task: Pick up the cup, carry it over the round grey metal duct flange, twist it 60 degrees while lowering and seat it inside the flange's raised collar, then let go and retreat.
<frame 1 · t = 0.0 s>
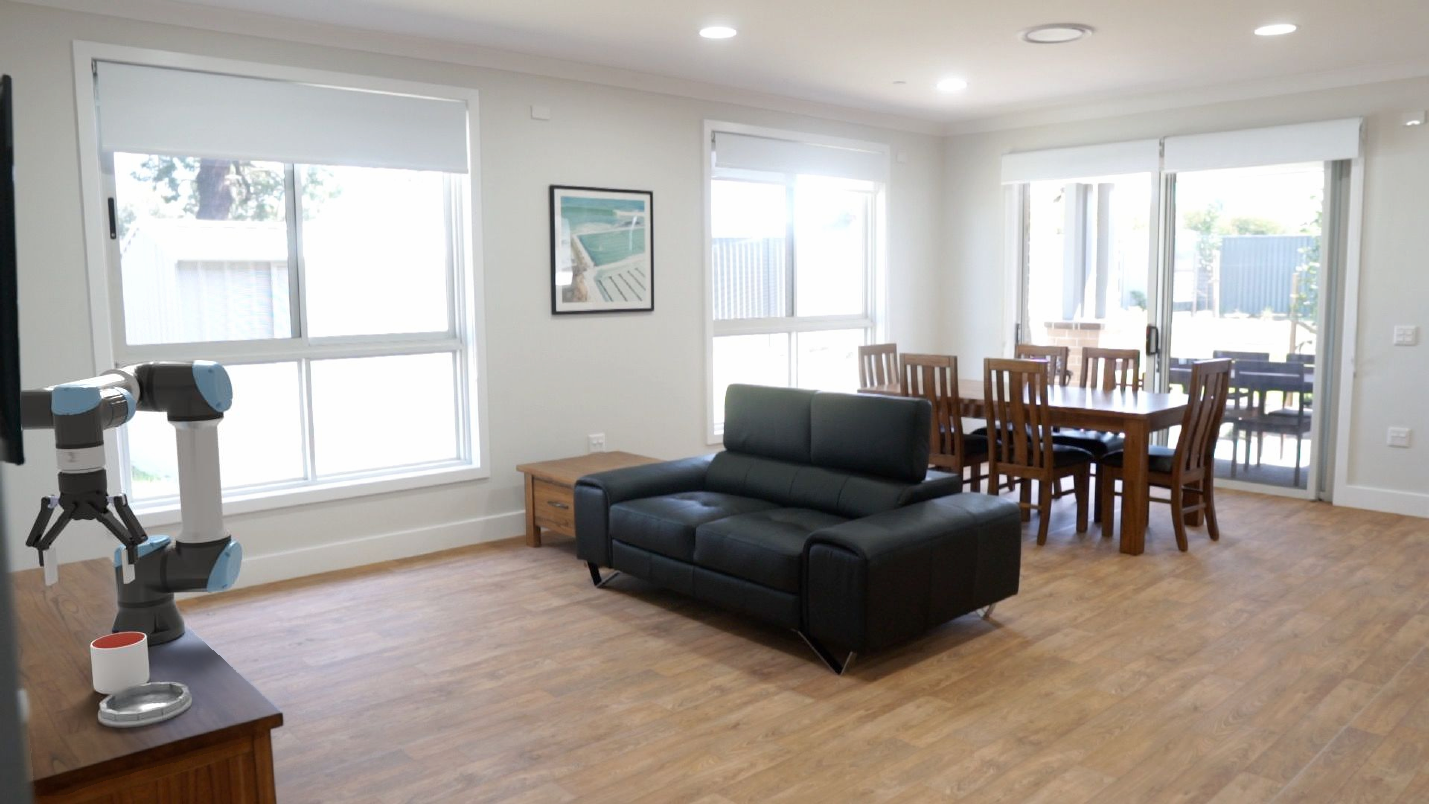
hand: (90, 582, 187), 28 cm above the tv stand, fingers open, 13 cm apart
duct flange: (146, 709, 199), on the tv stand
cup: (122, 687, 210), on the tv stand
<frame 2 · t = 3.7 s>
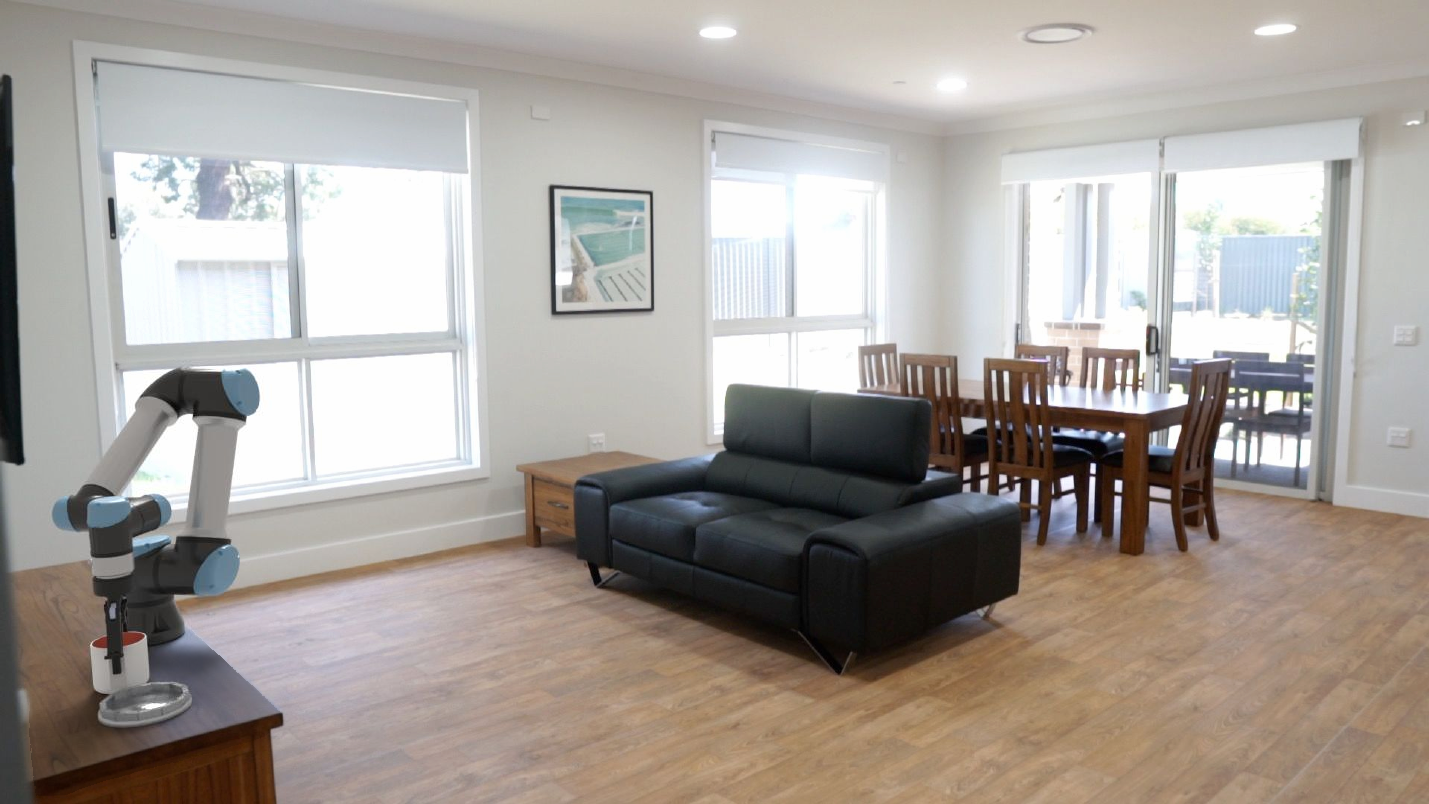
hand: (121, 678, 209), 2 cm above the tv stand, fingers closed on cup, 10 cm apart
cup: (122, 687, 210), on the tv stand, touching gripper
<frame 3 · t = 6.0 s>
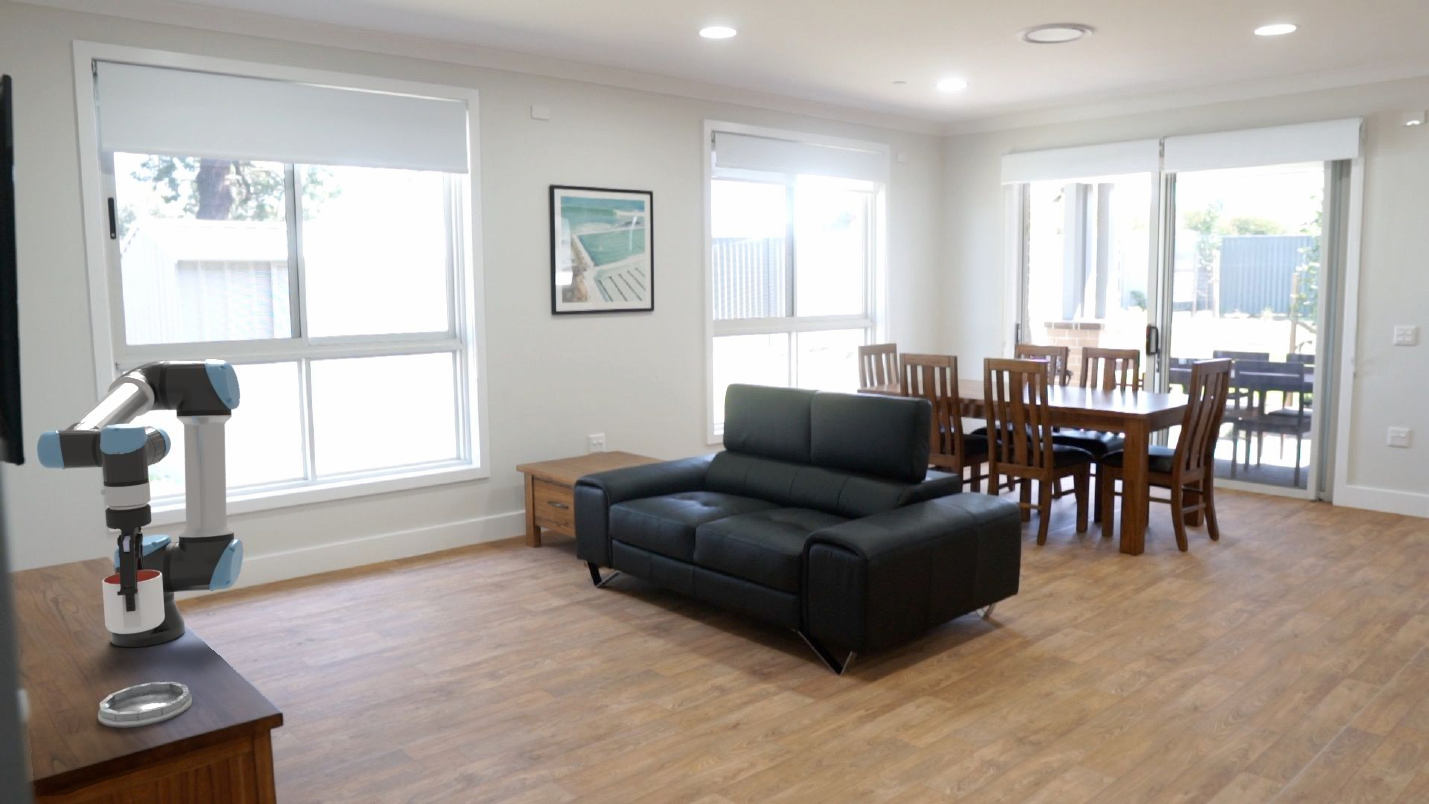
hand: (135, 618, 196), 18 cm above the tv stand, fingers closed on cup, 10 cm apart
cup: (135, 628, 197), point 16 cm above the tv stand, touching gripper
when the fingers open (5 cm above the tv stand, at t = 8.5 s): cup drops 2 cm, resting on duct flange.
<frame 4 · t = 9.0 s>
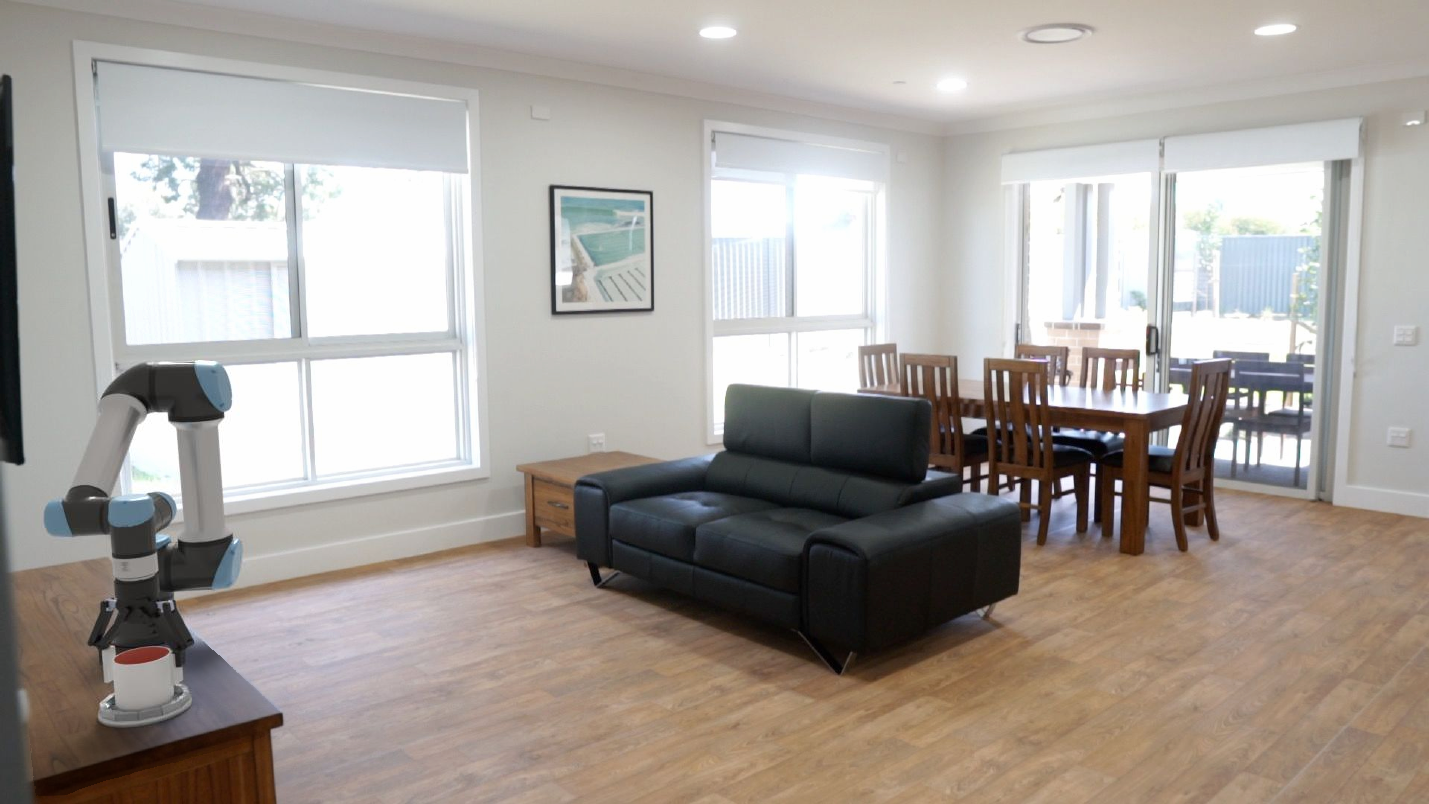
hand: (143, 681, 198), 6 cm above the tv stand, fingers open, 13 cm apart
cup: (145, 705, 198), point 1 cm above the tv stand, touching duct flange
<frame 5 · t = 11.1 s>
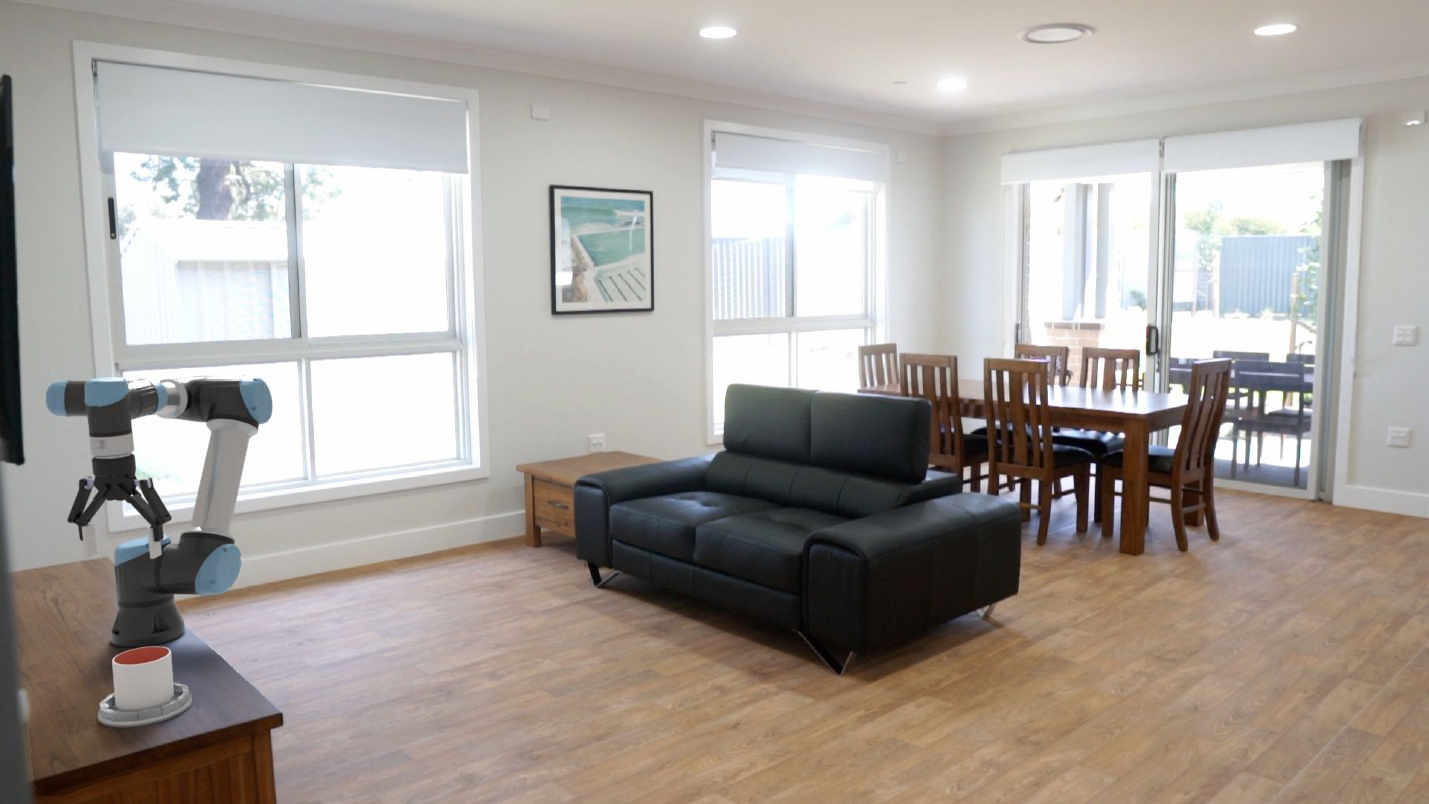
hand: (123, 556, 208), 27 cm above the tv stand, fingers open, 13 cm apart
nothing on the tv stand moved.
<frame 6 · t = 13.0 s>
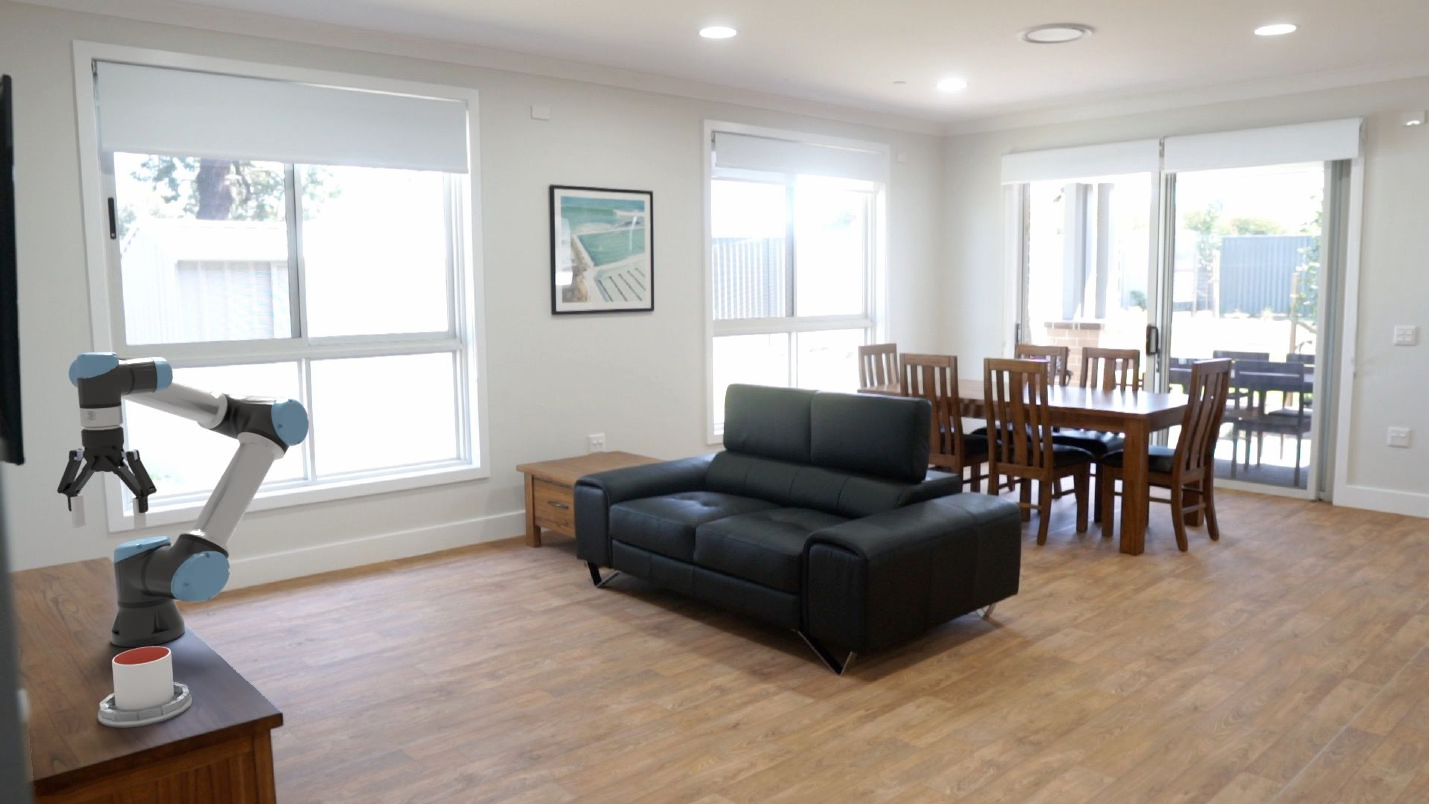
hand: (109, 527, 213), 32 cm above the tv stand, fingers open, 13 cm apart
nothing on the tv stand moved.
at the end: cup 0.0 cm from the duct flange (horizontally); cup tilted 0°; the gripper is holding nothing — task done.
